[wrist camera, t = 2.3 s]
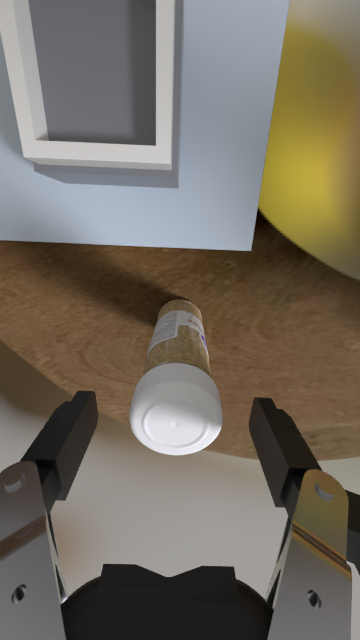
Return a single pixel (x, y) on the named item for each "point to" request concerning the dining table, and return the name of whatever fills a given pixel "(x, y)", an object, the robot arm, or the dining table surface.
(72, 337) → the dining table surface
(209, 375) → the sprinkles bottle
